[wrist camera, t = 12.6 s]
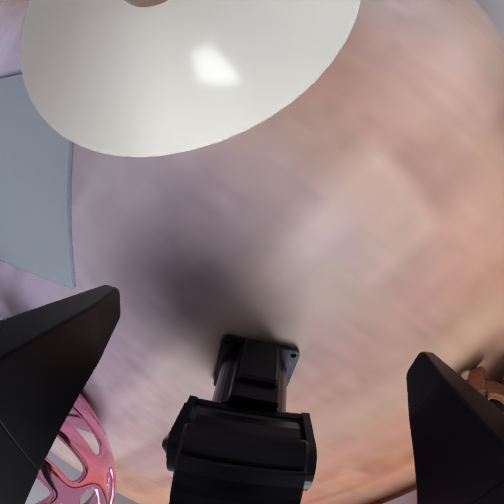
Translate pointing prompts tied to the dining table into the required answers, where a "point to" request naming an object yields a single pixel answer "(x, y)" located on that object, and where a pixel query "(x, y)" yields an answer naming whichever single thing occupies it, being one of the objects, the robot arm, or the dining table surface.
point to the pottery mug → (487, 387)
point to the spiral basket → (82, 462)
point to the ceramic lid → (173, 67)
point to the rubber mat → (34, 189)
